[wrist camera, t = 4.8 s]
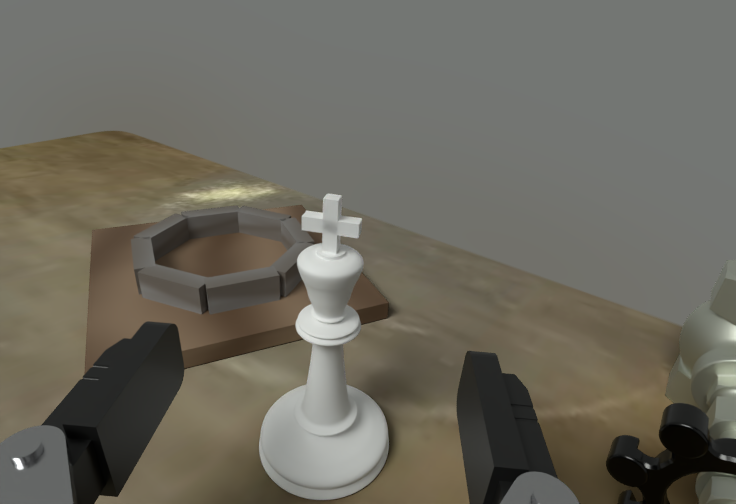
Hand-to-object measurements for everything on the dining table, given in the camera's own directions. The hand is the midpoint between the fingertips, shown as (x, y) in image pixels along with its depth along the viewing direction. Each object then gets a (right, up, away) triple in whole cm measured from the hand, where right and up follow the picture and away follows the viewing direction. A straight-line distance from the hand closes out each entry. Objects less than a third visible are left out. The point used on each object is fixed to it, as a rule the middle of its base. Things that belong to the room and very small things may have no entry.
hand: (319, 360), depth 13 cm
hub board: (-7, +2, +15) cm, 16 cm away
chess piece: (0, -4, +5) cm, 7 cm away
